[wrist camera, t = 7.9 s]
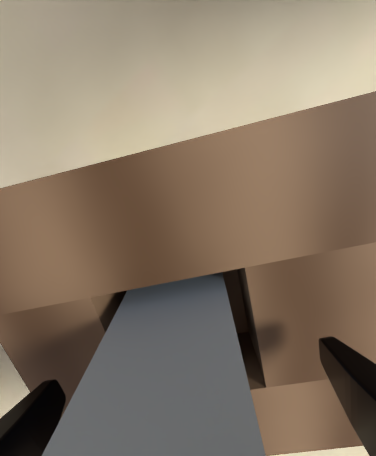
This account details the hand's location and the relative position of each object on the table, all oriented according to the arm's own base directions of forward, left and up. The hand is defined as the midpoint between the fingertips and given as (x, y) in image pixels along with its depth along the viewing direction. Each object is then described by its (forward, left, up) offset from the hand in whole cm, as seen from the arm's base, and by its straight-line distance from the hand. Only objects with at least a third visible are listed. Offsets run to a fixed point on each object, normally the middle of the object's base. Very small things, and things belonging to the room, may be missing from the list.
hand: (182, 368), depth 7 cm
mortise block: (0, 0, -5) cm, 5 cm away
